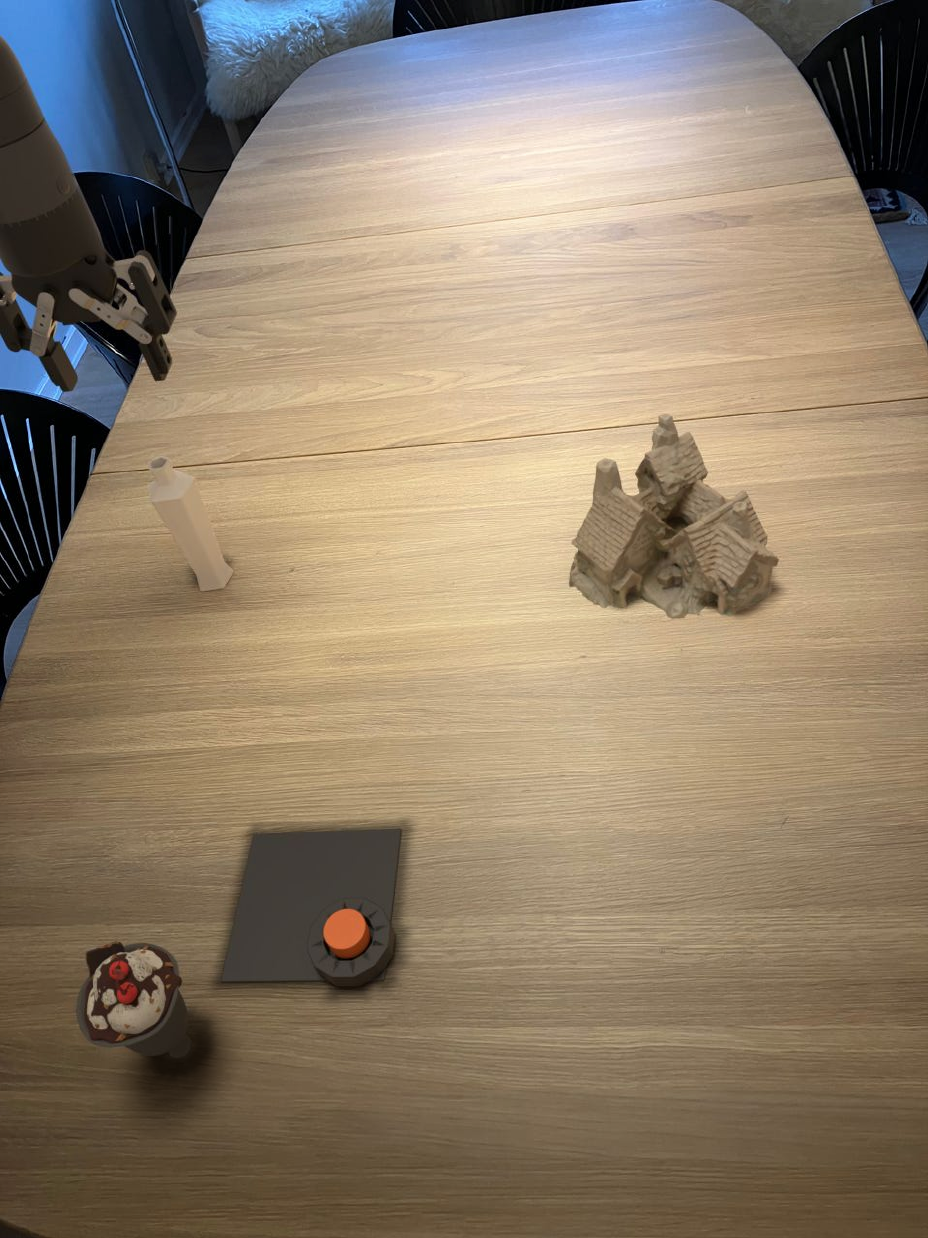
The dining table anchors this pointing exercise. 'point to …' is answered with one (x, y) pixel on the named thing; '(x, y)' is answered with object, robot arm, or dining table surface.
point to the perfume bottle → (188, 523)
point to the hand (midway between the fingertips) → (116, 380)
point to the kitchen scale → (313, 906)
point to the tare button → (346, 933)
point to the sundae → (134, 1000)
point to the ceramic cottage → (670, 536)
